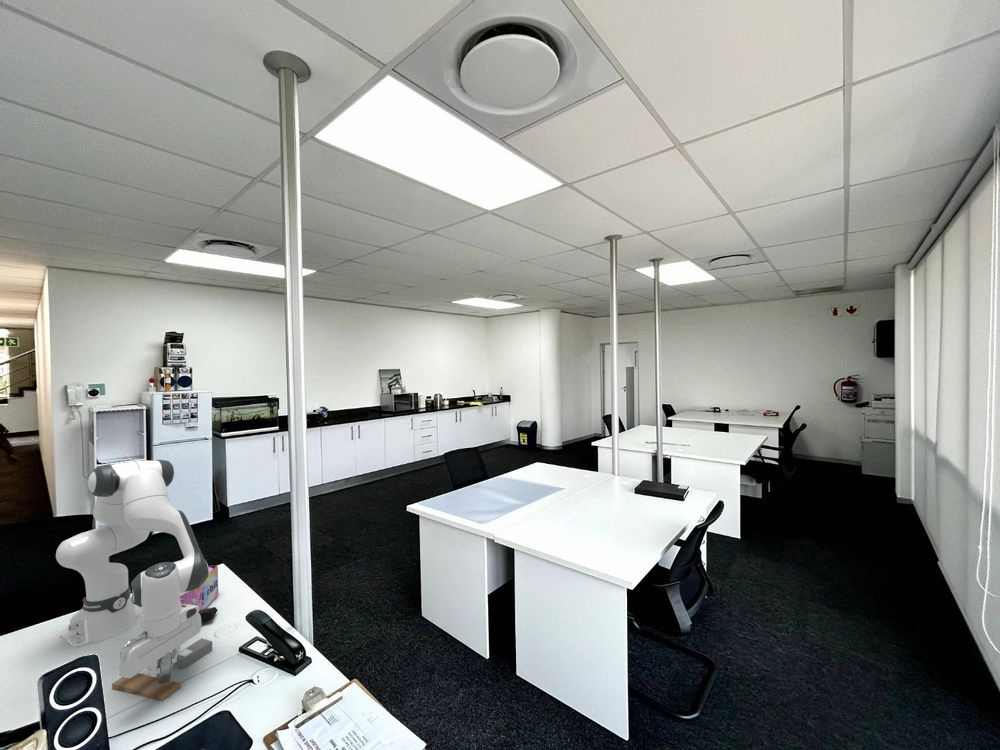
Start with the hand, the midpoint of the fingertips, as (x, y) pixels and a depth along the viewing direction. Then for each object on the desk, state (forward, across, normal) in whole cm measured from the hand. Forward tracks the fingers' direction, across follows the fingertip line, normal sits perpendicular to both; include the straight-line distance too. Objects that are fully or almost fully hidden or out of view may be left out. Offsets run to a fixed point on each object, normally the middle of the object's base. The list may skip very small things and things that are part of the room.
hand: (163, 669), depth 115 cm
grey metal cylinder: (+3, 0, 0) cm, 3 cm away
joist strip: (+8, 0, +7) cm, 11 cm away
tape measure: (+8, +30, +19) cm, 36 cm away
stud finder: (+8, +13, +6) cm, 17 cm away
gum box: (+8, +34, +33) cm, 48 cm away
